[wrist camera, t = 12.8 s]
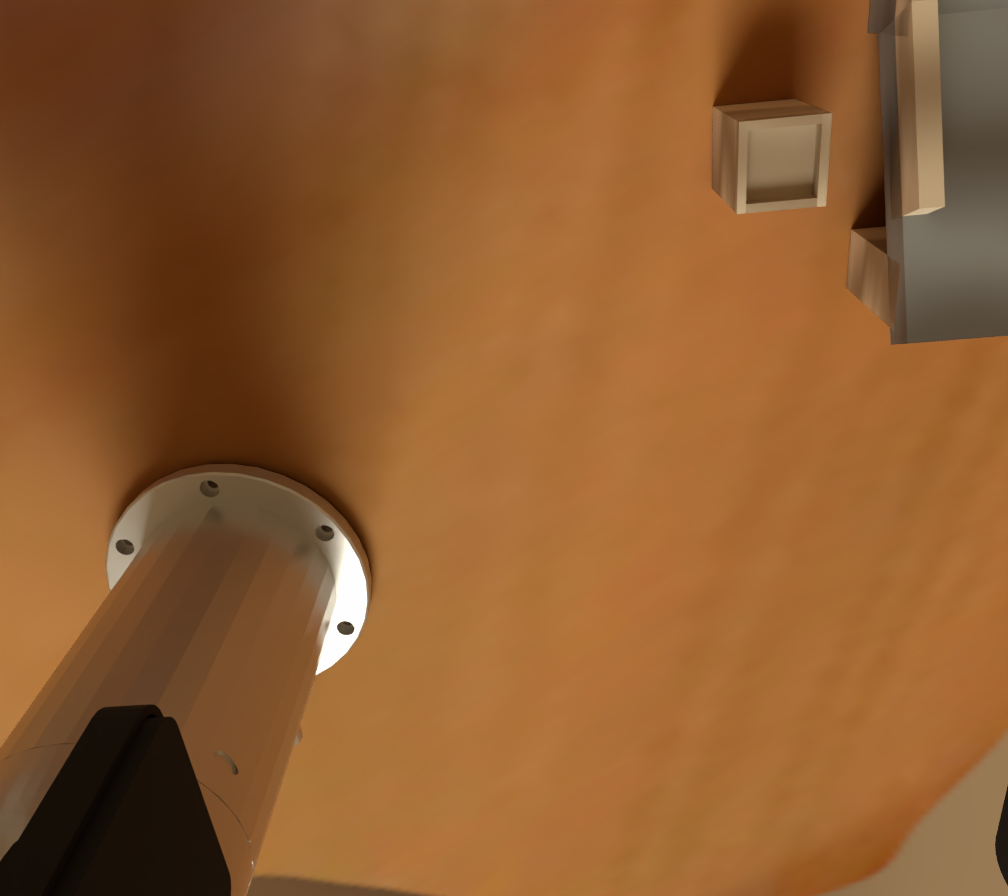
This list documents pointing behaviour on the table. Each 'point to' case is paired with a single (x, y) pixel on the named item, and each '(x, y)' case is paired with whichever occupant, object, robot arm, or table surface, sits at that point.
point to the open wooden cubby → (771, 155)
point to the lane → (939, 173)
